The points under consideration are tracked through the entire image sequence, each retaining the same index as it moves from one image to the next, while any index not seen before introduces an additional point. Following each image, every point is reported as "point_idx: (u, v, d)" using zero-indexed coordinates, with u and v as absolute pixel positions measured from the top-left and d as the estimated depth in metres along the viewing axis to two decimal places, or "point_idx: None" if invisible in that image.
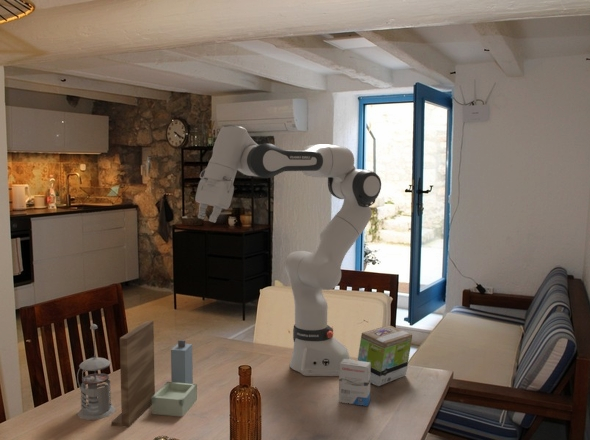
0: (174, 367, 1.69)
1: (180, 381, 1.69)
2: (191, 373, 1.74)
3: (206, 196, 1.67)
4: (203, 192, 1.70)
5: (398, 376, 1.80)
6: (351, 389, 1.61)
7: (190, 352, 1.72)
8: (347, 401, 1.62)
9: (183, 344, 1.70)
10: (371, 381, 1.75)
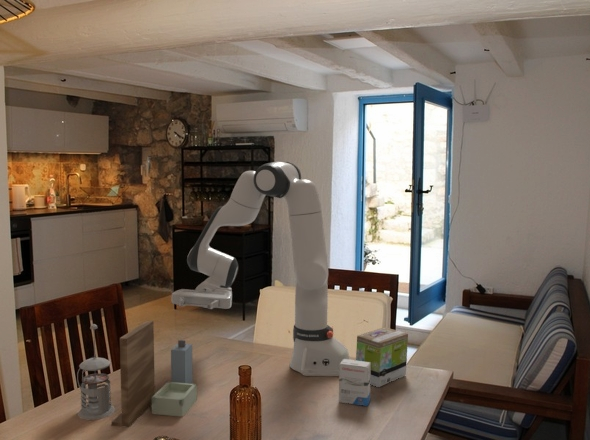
0: (174, 367, 1.69)
1: (180, 381, 1.69)
2: (191, 373, 1.74)
3: None
4: None
5: (398, 376, 1.80)
6: (351, 389, 1.61)
7: (190, 352, 1.72)
8: (347, 401, 1.62)
9: (183, 344, 1.70)
10: (371, 383, 1.75)
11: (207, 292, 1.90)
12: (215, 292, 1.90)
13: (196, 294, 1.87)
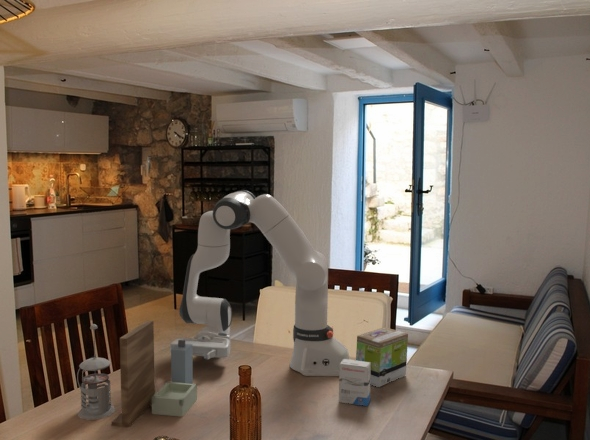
0: (174, 367, 1.69)
1: (180, 381, 1.69)
2: (191, 373, 1.74)
3: None
4: None
5: (398, 376, 1.80)
6: (351, 389, 1.61)
7: (190, 352, 1.72)
8: (347, 401, 1.62)
9: (183, 344, 1.70)
10: (371, 383, 1.75)
11: (205, 340, 1.90)
12: (213, 340, 1.89)
13: (194, 343, 1.86)
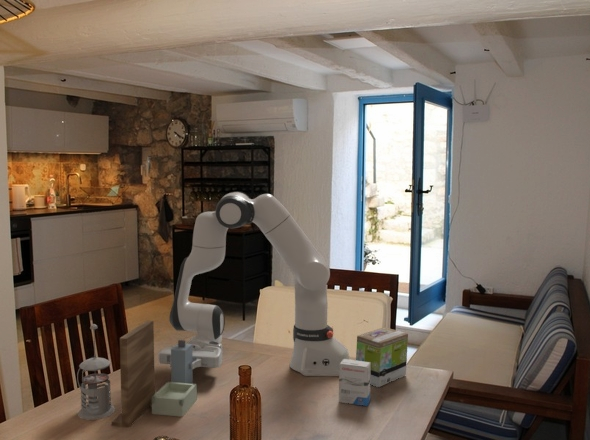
0: (174, 367, 1.69)
1: (180, 381, 1.69)
2: (191, 373, 1.74)
3: None
4: None
5: (398, 376, 1.80)
6: (351, 389, 1.61)
7: (190, 352, 1.72)
8: (347, 401, 1.62)
9: (183, 344, 1.70)
10: (371, 383, 1.75)
11: (196, 349, 1.81)
12: (204, 349, 1.80)
13: None
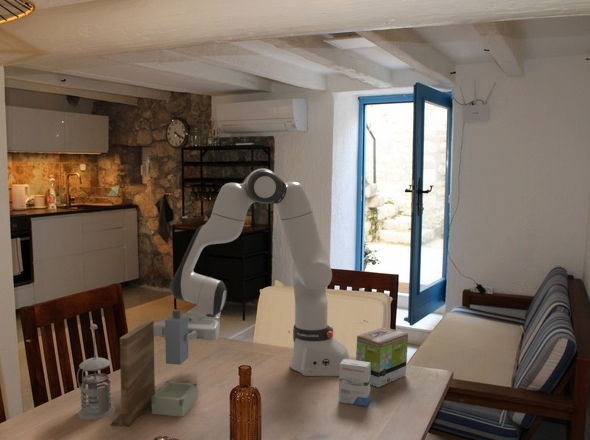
0: (168, 338, 1.62)
1: (175, 353, 1.62)
2: (187, 346, 1.66)
3: None
4: None
5: (398, 376, 1.80)
6: (351, 389, 1.61)
7: (185, 323, 1.65)
8: (347, 401, 1.62)
9: (178, 315, 1.63)
10: (371, 383, 1.75)
11: (192, 322, 1.73)
12: (201, 322, 1.73)
13: None
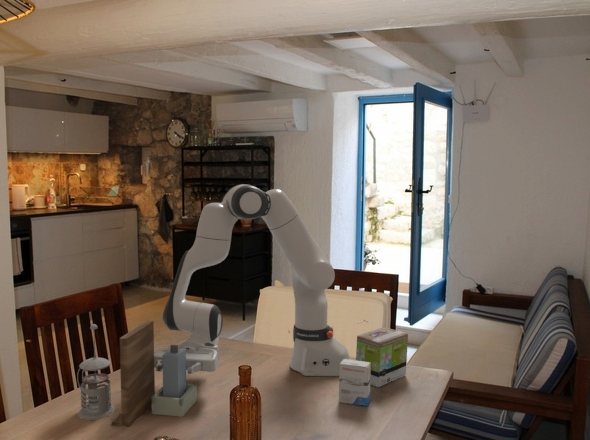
0: (166, 374, 1.55)
1: (172, 389, 1.55)
2: (185, 381, 1.60)
3: None
4: None
5: (398, 376, 1.80)
6: (351, 389, 1.61)
7: (183, 358, 1.59)
8: (347, 401, 1.62)
9: (176, 349, 1.57)
10: (371, 383, 1.75)
11: (190, 352, 1.67)
12: (199, 351, 1.67)
13: None
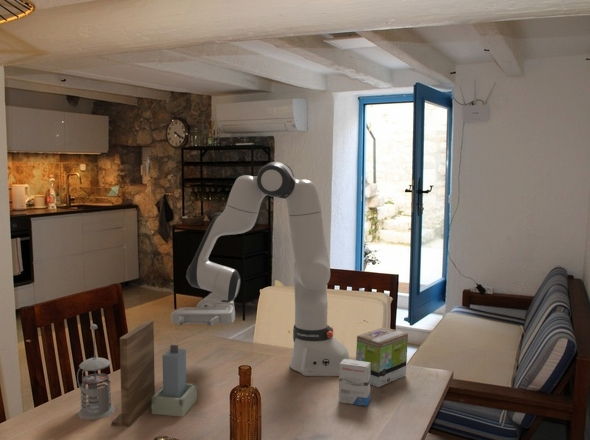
0: (166, 374, 1.55)
1: (172, 389, 1.55)
2: (185, 381, 1.60)
3: None
4: None
5: (398, 376, 1.80)
6: (351, 389, 1.61)
7: (183, 358, 1.59)
8: (347, 401, 1.62)
9: (176, 349, 1.57)
10: (371, 383, 1.75)
11: (208, 308, 1.81)
12: (216, 307, 1.80)
13: (196, 311, 1.77)
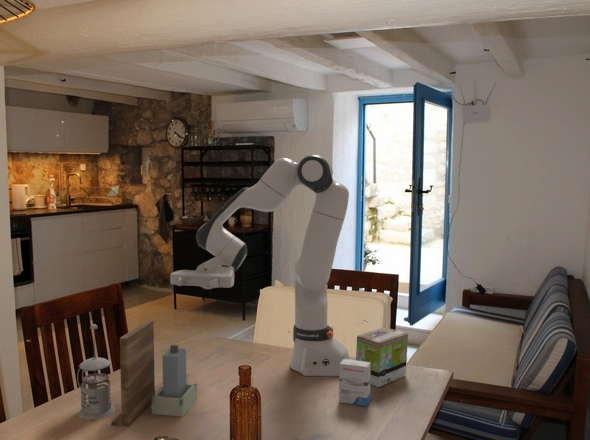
0: (166, 374, 1.55)
1: (172, 389, 1.55)
2: (185, 381, 1.60)
3: None
4: None
5: (398, 376, 1.80)
6: (351, 389, 1.61)
7: (183, 358, 1.59)
8: (347, 401, 1.62)
9: (176, 349, 1.57)
10: (371, 383, 1.75)
11: (208, 272, 1.81)
12: (216, 271, 1.81)
13: (196, 273, 1.78)
